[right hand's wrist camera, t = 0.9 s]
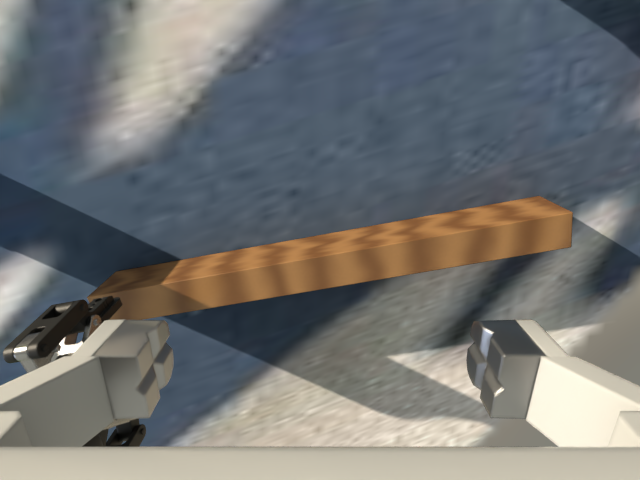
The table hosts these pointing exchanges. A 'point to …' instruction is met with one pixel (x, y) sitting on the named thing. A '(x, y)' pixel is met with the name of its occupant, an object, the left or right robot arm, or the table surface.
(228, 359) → the table surface
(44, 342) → the left robot arm
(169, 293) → the beam
